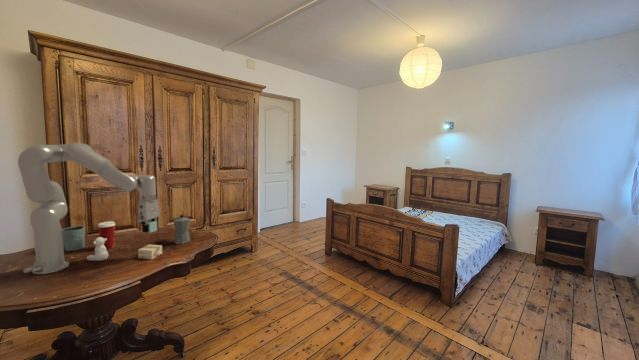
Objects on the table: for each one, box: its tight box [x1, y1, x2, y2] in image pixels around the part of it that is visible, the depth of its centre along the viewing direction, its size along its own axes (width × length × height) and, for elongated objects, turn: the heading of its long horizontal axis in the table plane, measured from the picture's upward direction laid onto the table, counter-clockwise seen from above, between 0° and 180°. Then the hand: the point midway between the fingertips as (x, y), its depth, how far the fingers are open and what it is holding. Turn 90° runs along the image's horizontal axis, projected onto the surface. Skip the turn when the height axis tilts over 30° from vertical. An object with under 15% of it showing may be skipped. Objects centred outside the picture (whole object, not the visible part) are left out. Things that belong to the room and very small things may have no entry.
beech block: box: [137, 244, 163, 260], centre depth 146 cm, size 8×8×5 cm
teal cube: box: [146, 220, 158, 234], centre depth 145 cm, size 5×5×5 cm
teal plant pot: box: [62, 225, 86, 252], centre depth 153 cm, size 10×10×12 cm
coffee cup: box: [97, 221, 116, 250], centre depth 155 cm, size 8×8×15 cm
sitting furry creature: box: [86, 236, 109, 262], centre depth 140 cm, size 10×9×12 cm
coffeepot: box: [173, 214, 191, 245], centre depth 169 cm, size 15×9×18 cm, turn 27°
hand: (149, 230), depth 145 cm, fingers closed on teal cube, 5 cm apart
